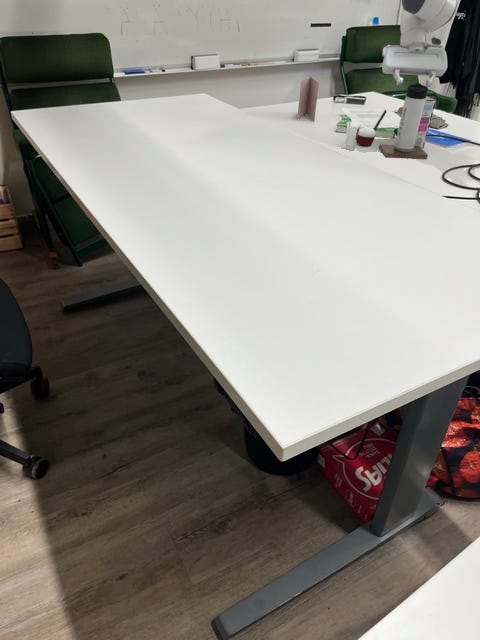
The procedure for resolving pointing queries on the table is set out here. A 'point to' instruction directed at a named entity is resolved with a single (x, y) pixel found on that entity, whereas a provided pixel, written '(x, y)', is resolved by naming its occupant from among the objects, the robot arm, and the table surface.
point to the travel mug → (410, 117)
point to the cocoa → (368, 133)
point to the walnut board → (392, 153)
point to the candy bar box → (425, 122)
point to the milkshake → (352, 135)
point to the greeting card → (308, 98)
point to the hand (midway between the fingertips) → (414, 85)
